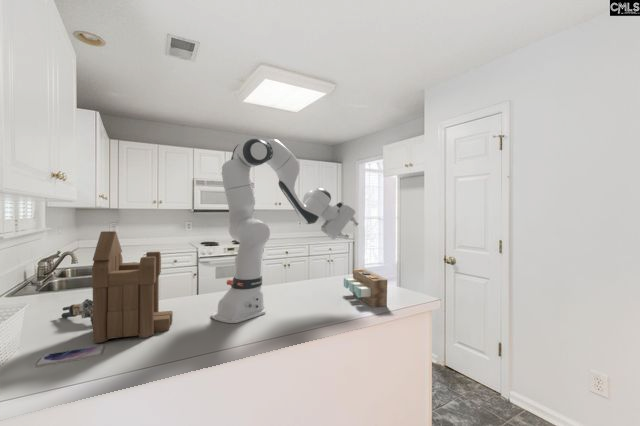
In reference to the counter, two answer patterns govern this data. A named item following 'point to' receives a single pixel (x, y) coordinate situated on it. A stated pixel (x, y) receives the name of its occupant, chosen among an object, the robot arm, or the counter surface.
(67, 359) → the smartphone
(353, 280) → the plunger far
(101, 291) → the castle structure
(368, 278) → the console
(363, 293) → the plunger near
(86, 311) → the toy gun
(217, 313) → the robot arm
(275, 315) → the counter surface
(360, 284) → the plunger middle
